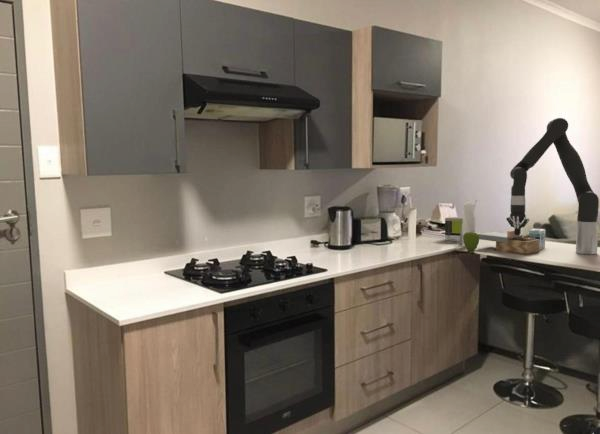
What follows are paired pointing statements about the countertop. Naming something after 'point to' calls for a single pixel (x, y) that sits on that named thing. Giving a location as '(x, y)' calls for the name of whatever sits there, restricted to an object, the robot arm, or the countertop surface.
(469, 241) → the green faceted ovoid
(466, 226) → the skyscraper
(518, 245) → the wooden box
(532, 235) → the light bulb box
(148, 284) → the countertop surface
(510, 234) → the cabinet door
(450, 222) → the tea box
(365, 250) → the countertop surface
